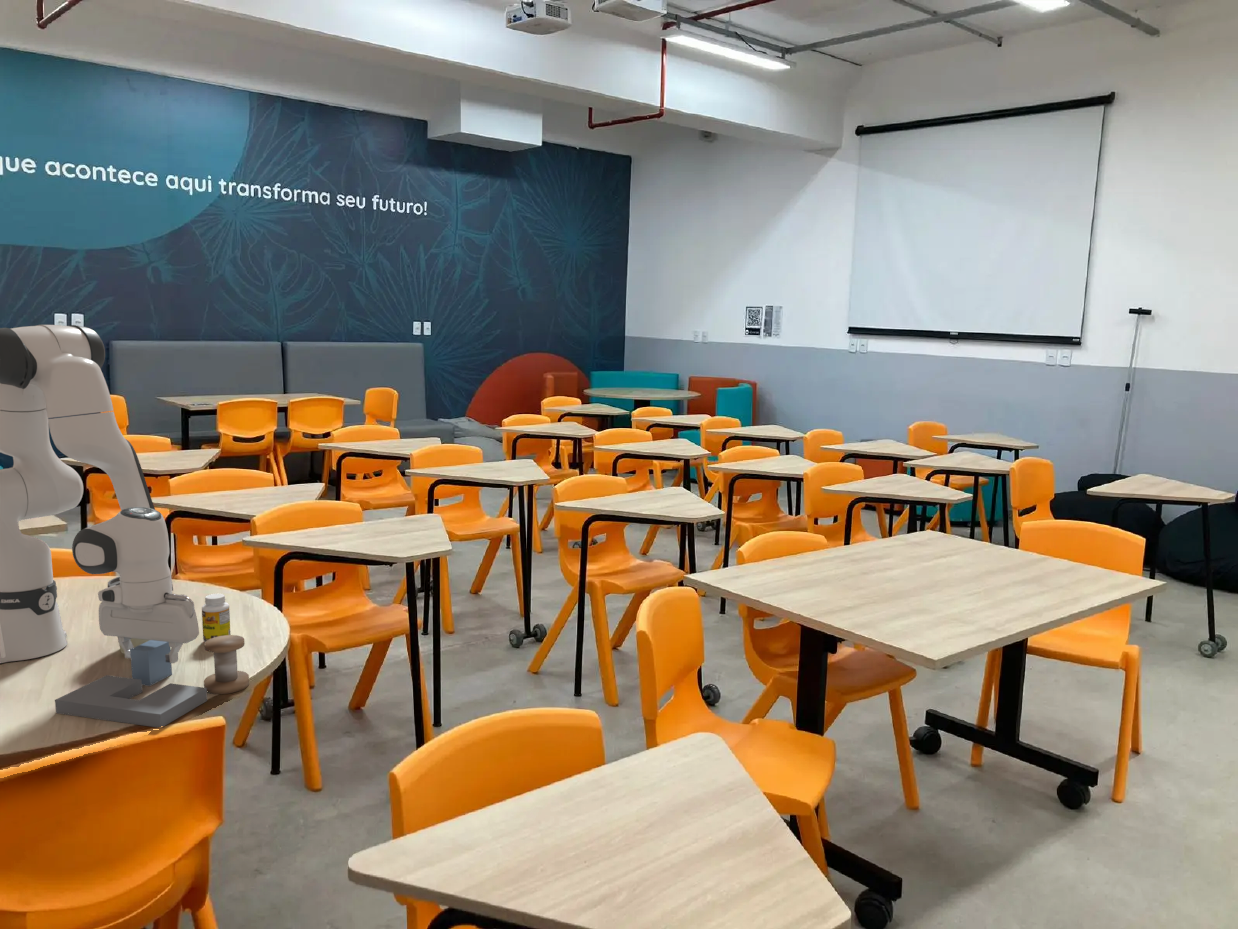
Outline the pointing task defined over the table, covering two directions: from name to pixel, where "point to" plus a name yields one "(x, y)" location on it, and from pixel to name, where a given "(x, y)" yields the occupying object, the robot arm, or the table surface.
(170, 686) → the notched board
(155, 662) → the blue-gray rectangular block
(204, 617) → the supplement bottle
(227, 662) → the bobbin post
